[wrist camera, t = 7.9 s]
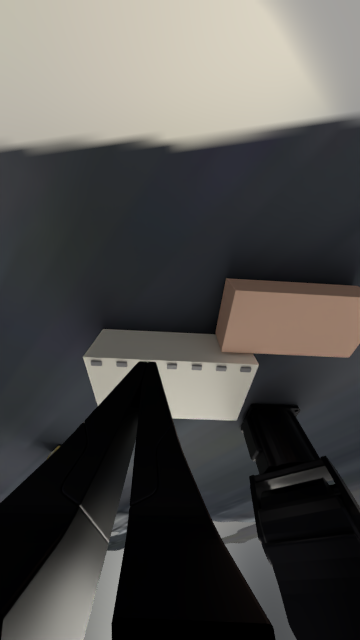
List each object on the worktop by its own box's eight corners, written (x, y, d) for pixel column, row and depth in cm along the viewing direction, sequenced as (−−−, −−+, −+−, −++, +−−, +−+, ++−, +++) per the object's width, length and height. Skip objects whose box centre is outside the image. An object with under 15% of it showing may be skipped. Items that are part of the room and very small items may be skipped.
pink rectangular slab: (356, 285, 14) (392, 299, 12) (324, 338, 17) (349, 357, 14) (226, 278, 14) (235, 290, 11) (215, 332, 17) (221, 351, 14)
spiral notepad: (243, 335, 17) (259, 366, 14) (227, 387, 21) (237, 422, 18) (103, 328, 17) (81, 358, 13) (114, 383, 21) (100, 417, 17)
